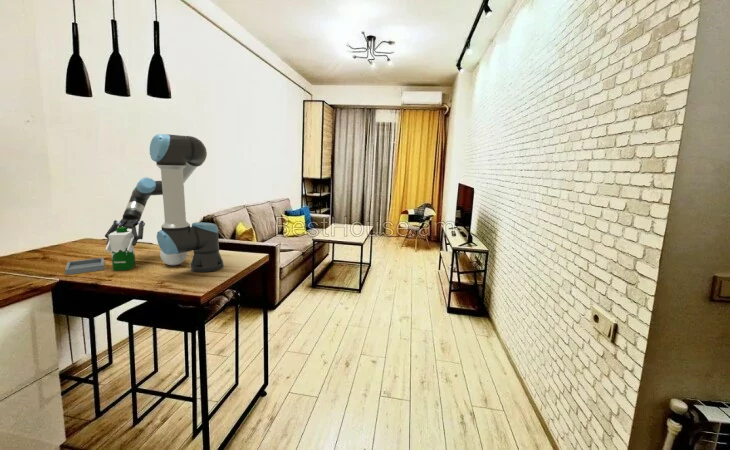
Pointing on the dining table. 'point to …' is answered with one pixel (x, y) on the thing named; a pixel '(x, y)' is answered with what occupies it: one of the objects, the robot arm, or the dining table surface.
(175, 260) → the decorative ball
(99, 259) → the holder tray
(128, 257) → the soya milk
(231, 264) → the dining table surface
